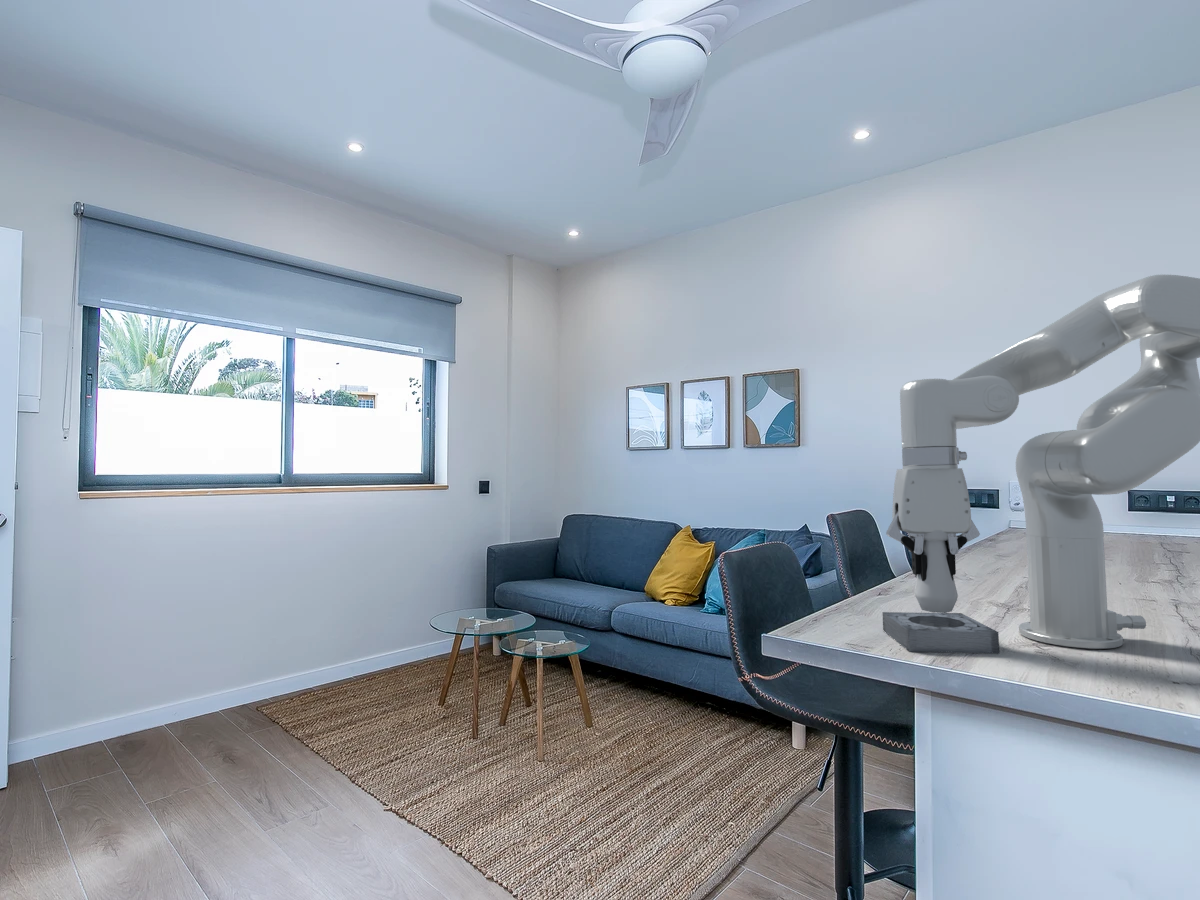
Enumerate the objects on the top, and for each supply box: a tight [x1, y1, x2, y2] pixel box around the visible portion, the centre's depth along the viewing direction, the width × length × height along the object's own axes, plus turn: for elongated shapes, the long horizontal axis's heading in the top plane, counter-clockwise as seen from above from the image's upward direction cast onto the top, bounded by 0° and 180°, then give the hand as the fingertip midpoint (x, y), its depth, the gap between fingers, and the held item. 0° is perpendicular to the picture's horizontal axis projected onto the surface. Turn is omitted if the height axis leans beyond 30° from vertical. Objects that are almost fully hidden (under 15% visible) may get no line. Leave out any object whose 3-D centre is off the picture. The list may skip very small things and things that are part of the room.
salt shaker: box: [913, 530, 959, 613], centre depth 94 cm, size 6×6×13 cm
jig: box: [882, 611, 1000, 654], centre depth 93 cm, size 12×12×3 cm
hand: (933, 578), depth 94 cm, fingers closed on salt shaker, 3 cm apart
